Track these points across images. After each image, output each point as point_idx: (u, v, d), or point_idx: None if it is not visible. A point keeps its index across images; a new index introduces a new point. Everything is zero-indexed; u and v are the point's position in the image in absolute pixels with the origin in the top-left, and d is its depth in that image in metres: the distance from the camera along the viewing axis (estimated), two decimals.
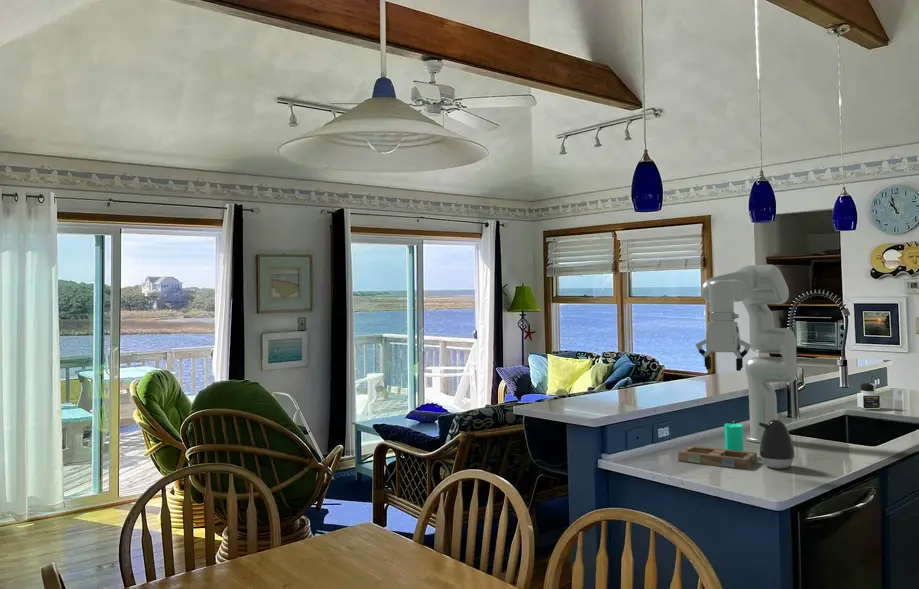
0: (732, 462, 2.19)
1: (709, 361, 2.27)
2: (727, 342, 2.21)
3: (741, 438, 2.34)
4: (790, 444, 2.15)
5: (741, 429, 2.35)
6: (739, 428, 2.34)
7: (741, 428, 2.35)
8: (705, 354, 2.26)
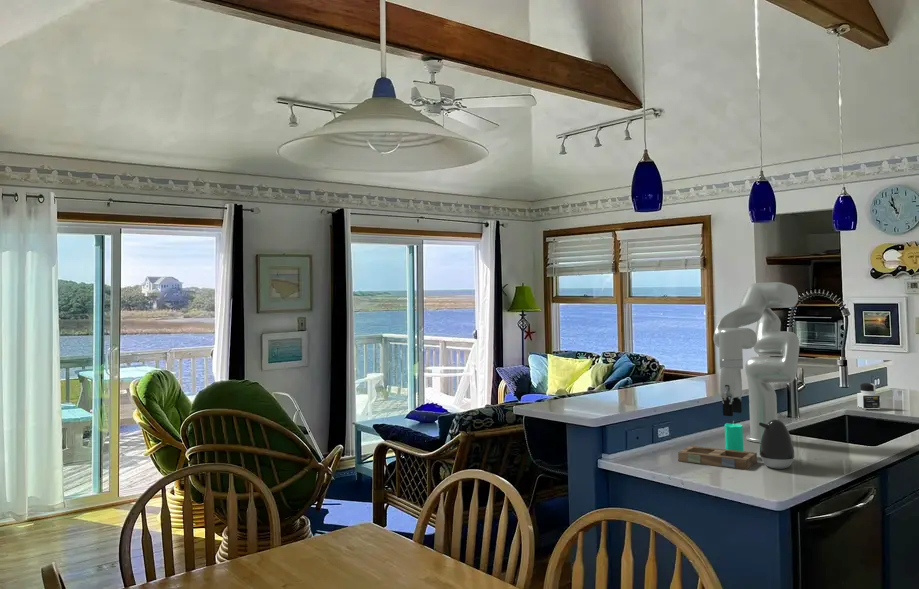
0: (732, 462, 2.19)
1: None
2: (740, 387, 2.37)
3: (741, 438, 2.34)
4: (790, 444, 2.15)
5: (741, 429, 2.35)
6: (739, 428, 2.34)
7: (741, 428, 2.35)
8: (731, 401, 2.32)
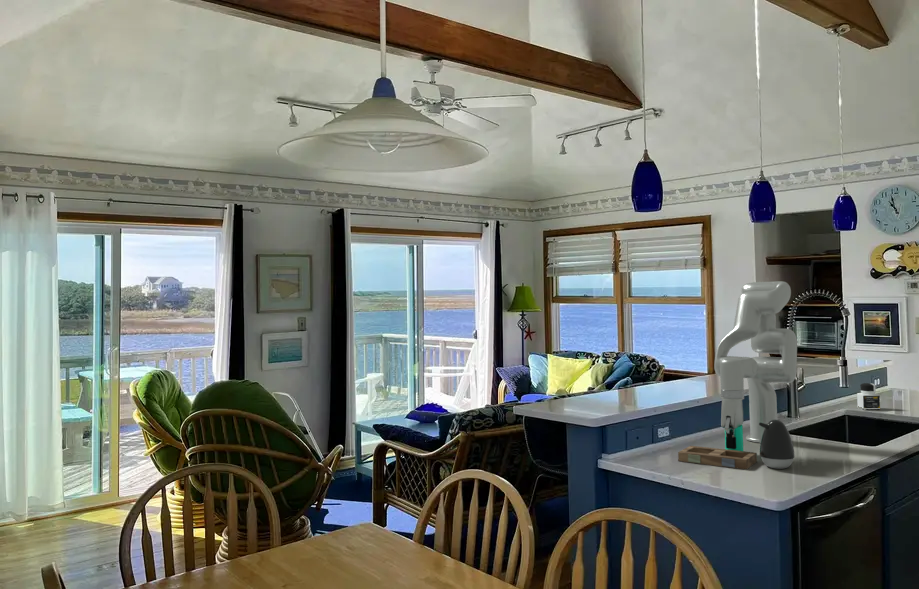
0: (732, 462, 2.19)
1: None
2: (741, 417, 2.37)
3: (741, 438, 2.35)
4: (790, 444, 2.15)
5: (741, 429, 2.35)
6: (739, 428, 2.34)
7: (741, 428, 2.35)
8: (734, 434, 2.33)
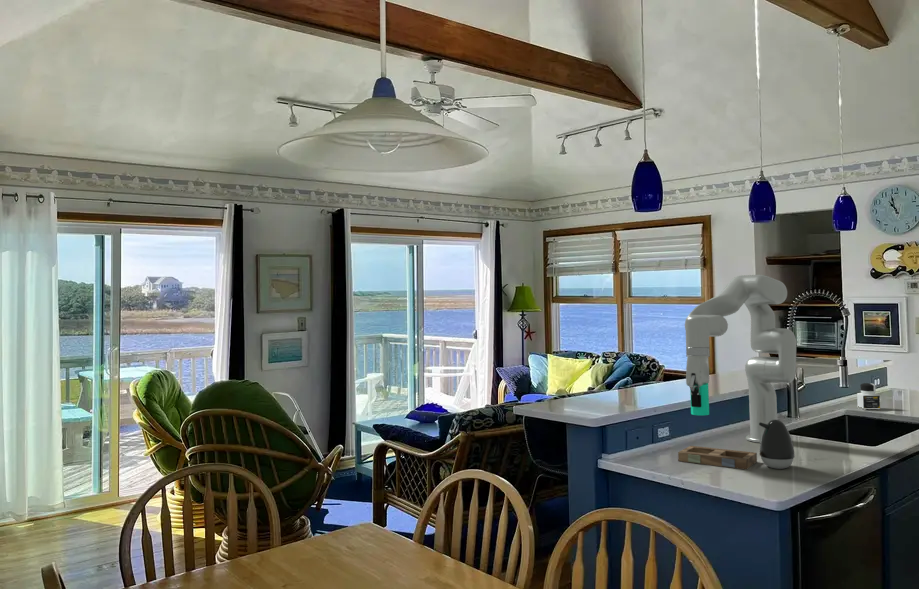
0: (732, 462, 2.19)
1: None
2: (707, 375, 2.33)
3: (706, 396, 2.30)
4: (790, 444, 2.15)
5: (707, 387, 2.30)
6: (704, 386, 2.30)
7: (707, 386, 2.30)
8: (699, 392, 2.29)
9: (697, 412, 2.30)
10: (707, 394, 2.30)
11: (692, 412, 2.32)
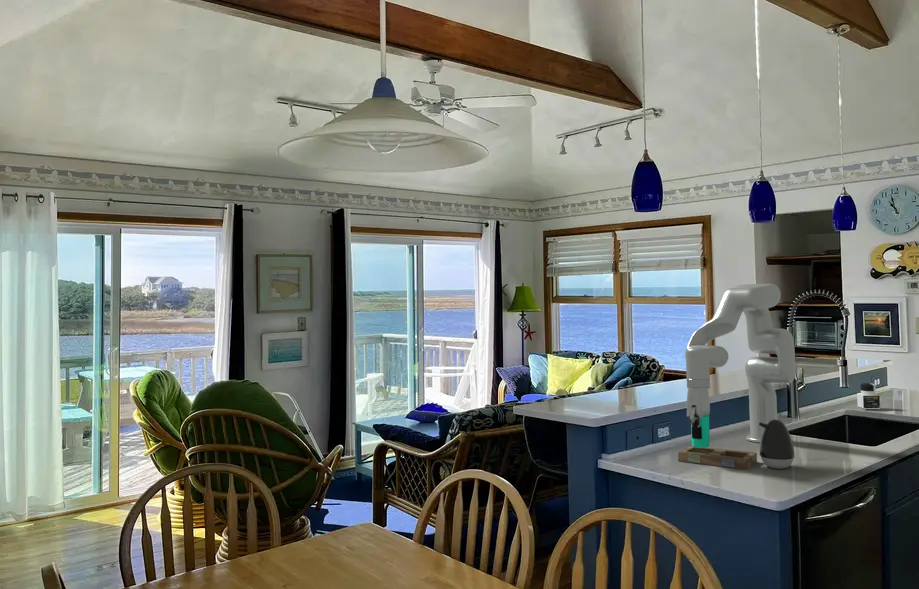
0: (732, 462, 2.19)
1: None
2: (708, 406, 2.33)
3: (707, 428, 2.30)
4: (790, 444, 2.15)
5: (707, 419, 2.30)
6: (705, 418, 2.30)
7: (707, 418, 2.30)
8: (699, 424, 2.29)
9: (698, 444, 2.30)
10: (708, 426, 2.30)
11: (693, 444, 2.32)
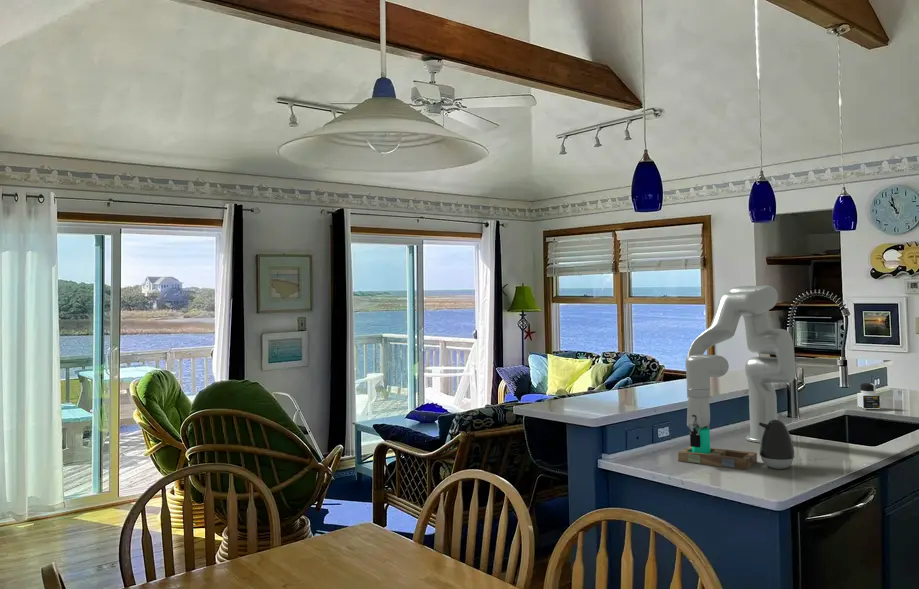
0: (732, 462, 2.19)
1: None
2: (708, 416, 2.32)
3: (708, 442, 2.30)
4: (790, 444, 2.15)
5: (708, 433, 2.30)
6: (706, 432, 2.30)
7: (708, 432, 2.30)
8: (698, 432, 2.27)
9: None
10: (708, 440, 2.30)
11: None
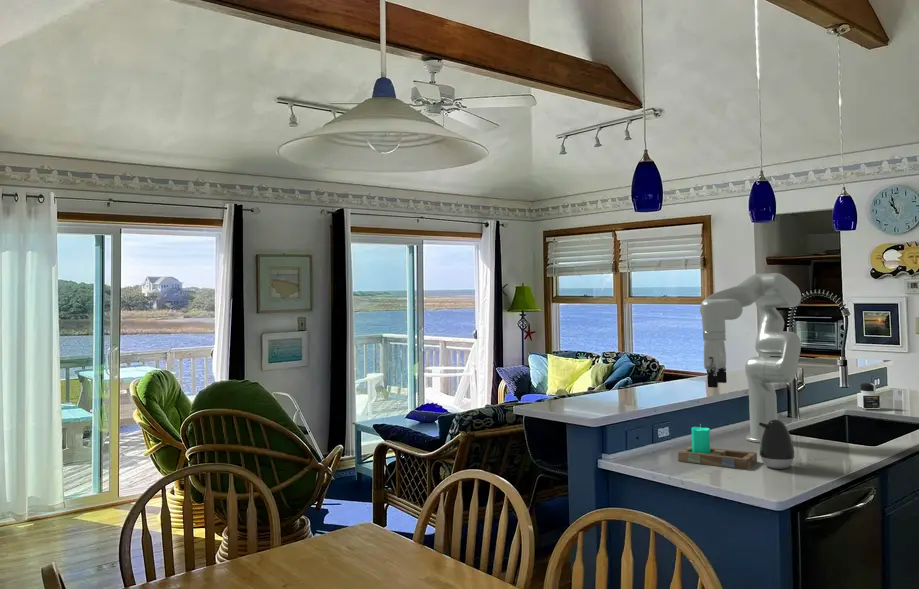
0: (732, 462, 2.19)
1: None
2: (724, 358, 2.39)
3: (708, 442, 2.30)
4: (790, 444, 2.15)
5: (708, 433, 2.30)
6: (706, 432, 2.30)
7: (708, 432, 2.30)
8: (715, 373, 2.34)
9: None
10: (708, 440, 2.30)
11: None
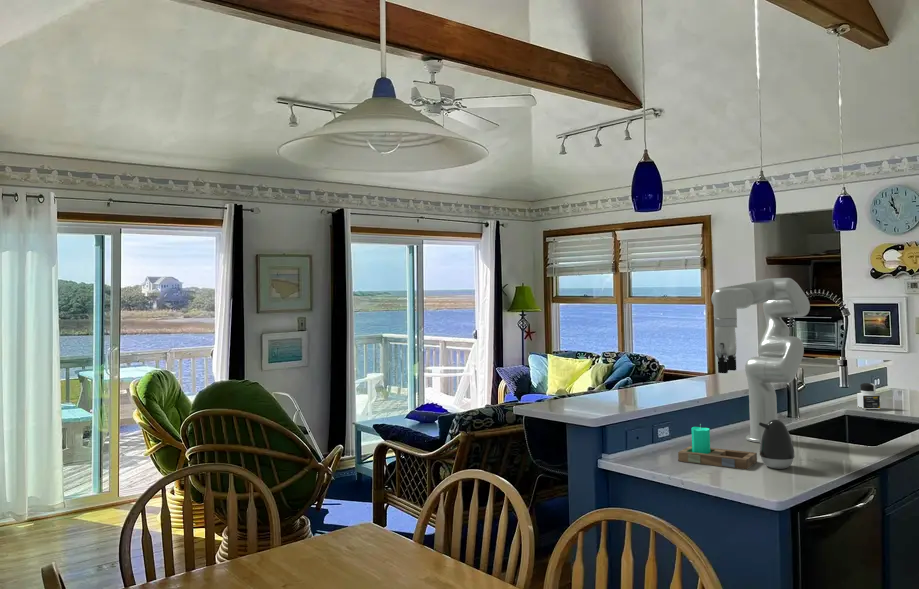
0: (732, 462, 2.19)
1: None
2: (735, 345, 2.43)
3: (708, 442, 2.30)
4: (790, 444, 2.15)
5: (708, 433, 2.30)
6: (706, 432, 2.30)
7: (708, 432, 2.30)
8: (725, 358, 2.38)
9: None
10: (708, 440, 2.30)
11: None
